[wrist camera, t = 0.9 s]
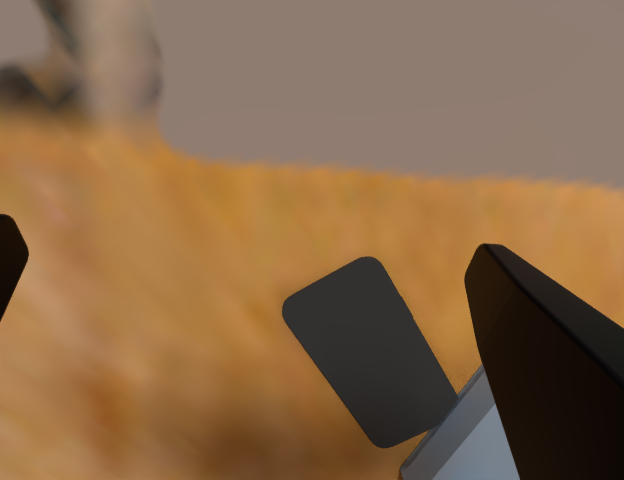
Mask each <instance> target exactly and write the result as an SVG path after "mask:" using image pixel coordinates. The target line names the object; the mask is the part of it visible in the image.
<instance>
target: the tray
mask: <svg viewBox="0 0 624 480" xmlns="http://www.w3.org/2000/svg"><path fill="white" fill-rule="evenodd" d="M457 396H458V398H459V399H458V401H457V402H456V403H455V405H454V406H453V407H452V408H451V410H450V411H449V412H448V413H447V415H446V416H445V417H444V418H443V420H442V421H441V422H440V423H439V425H438V426H436V427H434V428H432V429H430V431H429V432H428V433H427V435H426V436H425V437H424V438H423V440H422V441H421V442H420V443H419V445H418V446H417V447H416V448H415V450H414V451H413V452H412V454H411V455H410V456H409V457H408V459H407V460H406V461H405V462H404V464H403V465H402V466H401V467H400V470H401V474H402V477H403V480H520V478H519V475H518V472H517V469H516V466H515V463H514V460H513V457H512V454H511V450H510V447H509V444H508V441H507V438H506V435H505V432H504V429H503V426H502V423H501V419H500V416H499V413H498V410H497V407H496V404H495V401H494V398H493V395H492V392H491V389H490V385H489V382H488V379H487V376H486V373H485V370H484V367H483V364H482V365H481V366H480V367H479V369H478V370H477V371H476V372H475V374H474V375H473V376H472V378H471V379H470V380H469V381H468V383H467V384H466V385H465V386H464V388H463V389H462V390H461V391H460V393H459V394H458V395H457Z"/></svg>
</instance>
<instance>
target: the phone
mask: <svg viewBox="0 0 624 480" xmlns="http://www.w3.org/2000/svg"><path fill="white" fill-rule="evenodd" d="M282 314H283V318H284V320H285V322H286V323H287V325H288V326H289V328H290V329H291V330H292V332H293V333H294V335H295V336H296V337H297V339H298V340H299V341H300V343H301V344H302V346H303V347H304V348H305V350H306V351H307V353H308V354H309V355H310V357H311V358H312V359H313V361H314V362H315V364H316V365H317V366H318V368H319V369H320V371H321V372H322V373H323V375H324V376H325V378H326V379H327V380H328V382H329V383H330V384H331V386H332V387H333V389H334V390H335V391H336V393H337V394H338V396H339V397H340V398H341V400H342V401H343V402H344V404H345V405H346V407H347V408H348V409H349V411H350V412H351V414H352V415H353V416H354V418H355V419H356V421H357V422H358V423H359V425H360V426H361V427H362V429H363V430H364V432H365V433H366V434H367V436H368V437H369V439H370V440H371V441H372V442H373V444H375V445H376V446H377V447H380V448H389V447H393V446H395V445H397V444H399V443H402V442H404V441H406V440H408V439H410V438H412V437H415V436H417V435H419V434H421V433H423V432H425V431H427V430H429V429H432V428H434V427H436V426H438V425H439V423H440V422H441V421H442V420H443V418H444V417H445V416H446V415H447V413H448V412H449V411H450V410H451V408H452V407H453V406H454V405H455V403H456V402H457V401H458V399H459V398H458V396H457V394H456V392H455V391H454V389H453V387H452V385H451V384H450V382H449V380H448V378H447V377H446V375H445V373H444V371H443V370H442V368H441V366H440V364H439V363H438V361H437V359H436V357H435V356H434V354H433V352H432V350H431V349H430V347H429V345H428V343H427V342H426V340H425V338H424V336H423V335H422V333H421V331H420V329H419V328H418V326H417V324H416V322H415V321H414V319H413V316H412V314H411V312H410V310H409V309H408V307H407V305H406V303H405V302H404V300H403V298H402V297H401V296H400V294H399V293H398V291H397V289H396V287H395V286H394V284H393V282H392V280H391V279H390V277H389V275H388V273H387V272H386V270H385V268H384V267H383V265H382V264H381V263H380V262H379V261H378V260H377V259H375V258H373V257H361V258H359V259H356V260H354V261H353V262H351V263H349V264H347V265H345V266H343V267H342V268H340V269H338V270H336V271H334V272H332V273H331V274H329V275H327V276H325V277H323V278H321V279H320V280H318V281H316V282H314V283H312V284H311V285H309V286H307V287H305V288H303V289H301V290H300V291H298V292H296V293H294V294H293V295H291V296H290V297H288V298H287V299H286V300H285V302H284V304H283V309H282Z"/></svg>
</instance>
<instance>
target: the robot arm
mask: <svg viewBox="0 0 624 480" xmlns="http://www.w3.org/2000/svg"><path fill="white" fill-rule="evenodd" d="M28 256H29V251H28V247H27V245H26V243H25V241H24V239H23V237H22V235H21V233H20V231H19V229H18V227H17V225H16V223H15V221H14V219H13V218H12V217H10V216H9V215H6V214H0V321H1V319H2V317H3V315H4V313H5V310H6V308H7V306H8V304H9V301H10V299H11V297H12V295H13V292H14V290H15V288H16V286H17V283H18V281H19V279H20V277H21V274H22V272H23V270H24V268H25V265H26V263H27V261H28ZM464 282H465V288H466V293H467V298H468V303H469V308H470V313H471V318H472V323H473V328H474V333H475V338H476V342H477V347H478V351H479V354H480V357H481V361H482V364H483V367H484V370H485V373H486V376H487V379H488V382H489V385H490V389H491V392H492V395H493V398H494V401H495V404H496V407H497V410H498V413H499V416H500V419H501V423H502V426H503V429H504V432H505V435H506V438H507V441H508V444H509V447H510V450H511V454H512V457H513V460H514V463H515V466H516V469H517V472H518V475H519V478H520V480H624V328H622V327H621V326H619V325H618V324H616V323H615V322H614V321H612V320H611V319H609V318H608V317H606V316H605V315H603V314H602V313H601V312H599V311H598V310H596V309H595V308H593V307H592V306H590V305H589V304H587V303H586V302H585V301H583V300H582V299H580V298H579V297H577V296H576V295H574V294H573V293H571V292H570V291H569V290H567V289H566V288H564V287H563V286H561V285H560V284H558V283H557V282H556V281H554V280H553V279H551V278H550V277H548V276H547V275H545V274H544V273H542V272H541V271H540V270H538V269H537V268H535V267H534V266H532V265H531V264H529V263H528V262H527V261H525V260H524V259H522V258H521V257H519V256H518V255H516V254H515V253H513V252H512V251H511V250H509V249H508V248H506V247H505V246H503V245H500V244H486V243H484V244H481V245H479V246H478V248H477V249H476V251H475V253H474V255H473V258H472V260H471V262H470V264H469V266H468V268H467V270H466V273H465V279H464Z"/></svg>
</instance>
